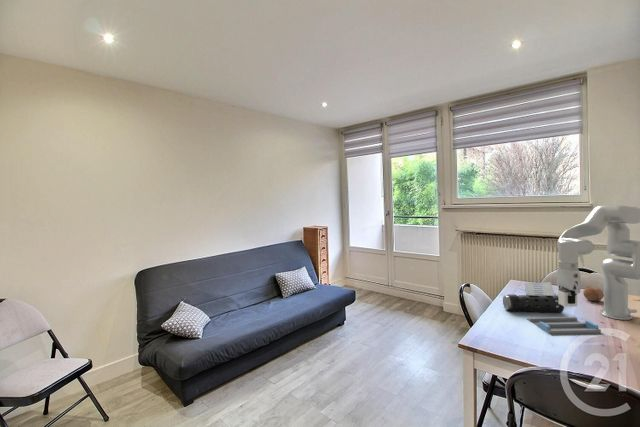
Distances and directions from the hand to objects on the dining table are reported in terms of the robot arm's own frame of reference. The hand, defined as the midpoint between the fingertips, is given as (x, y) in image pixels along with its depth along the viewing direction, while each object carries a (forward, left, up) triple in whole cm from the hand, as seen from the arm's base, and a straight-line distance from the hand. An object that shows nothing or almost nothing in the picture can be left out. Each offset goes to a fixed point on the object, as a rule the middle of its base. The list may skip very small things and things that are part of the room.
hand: (567, 301), depth 150 cm
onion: (-45, -41, -16) cm, 63 cm away
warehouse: (-17, -49, -16) cm, 54 cm away
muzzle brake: (+2, -25, -16) cm, 29 cm away
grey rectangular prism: (0, 0, -2) cm, 2 cm away
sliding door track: (0, -4, -15) cm, 16 cm away
